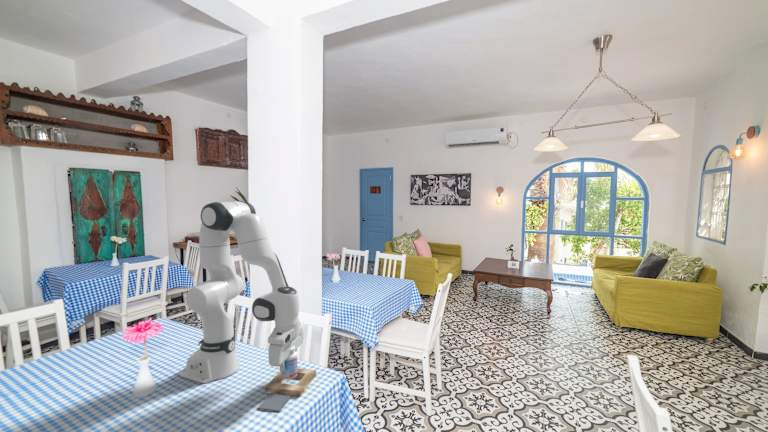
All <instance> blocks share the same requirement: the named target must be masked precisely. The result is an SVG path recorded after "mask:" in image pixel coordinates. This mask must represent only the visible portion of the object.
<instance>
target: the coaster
mask: <svg viewBox="0 0 768 432" xmlns="http://www.w3.org/2000/svg"><path fill="white" fill-rule="evenodd" d="M291 398H292V395H283V394H275V393H269V395H268V396H267V397H266V398H265V399H264V400H263V401H262V403H260V404H259V406H258V407H257V410H258V409H263V410H262V411H266V410H271V411H270V412H273V411H276V412H275V413H281V411H282V410H283V408H284V407H285V406H286V405H287V403H288V402H289V401H290V400H291ZM281 409H282V410H281Z"/></svg>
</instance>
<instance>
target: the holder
mask: <svg viewBox="0 0 768 432" xmlns="http://www.w3.org/2000/svg"><path fill="white" fill-rule="evenodd" d="M316 376H317V370H316V369H308V368H298V367H297V376H296V377H295V378H297V379H298V378H299V379H300V380H299V382H298V383H297V384H296V385H295V384H288V383H283V382H284V381H285V380H286V379H283V378H282V377H281V371H280V370H279V372H278V373H277V374H276V375H275V376H274V377H273V378H272V379H271V380H270V381H269V382H268V383H267V384H266V385H265V386H264V393H267V392H271V393H273V394H275V393H277V394H281V395H289V396H291V397H292V396H294V397H301V396H302V394H304V393H305V391H306V389H307V388H308V387H309V385H310V384H311V383H312V382H313V380H314V379H315V377H316ZM271 393H270V394H271Z"/></svg>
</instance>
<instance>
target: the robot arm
mask: <svg viewBox="0 0 768 432" xmlns="http://www.w3.org/2000/svg"><path fill="white" fill-rule="evenodd" d="M200 221H201V224H200V228H199V229H200V230H199V239H198V241H199V242H198V243H199V245H198V247H199V264H200V267H202V269H204V270H207V271H208V274H209V275H210V279H209V280H205V281H203V282H200V283H198V284H197V285H195V286H193V287H191V288H190V289H189V290H188V291H187V292H186V295H185V303H186V306H187V308H188V309H189V310H190V311H192V312H194V313H196V314H197V315H198V316H199V318H200V320H201V325H202V333H203V334H202V335H203V336H202V337H203V338H202V339H201V340H200V341H198V342H197V343H198V344H197V345H198V346H200V348H198V349H197V350H196V351H194V352H193V353H192V354H191V355H190V356H189V357H188V358H187V361H186V366H185V367H184V368H183V369H182V370H181V371H180V372H179V377H180V378H184V379H186V380H190V381H194V382H197V383H200V384H208V383H210V382H212V381H217V380H220V379H224V378H227V377H229V376H231V375H233V374H235V373H236V372H237V371H238V370H239V369H240V363H239V360H238V357H237V354H236V353H237V352H236V348H235V347H236V335H235V333H234V332H235V331H234V318H233V315H232V314H231V313H229V312H226V310H225V306H224V304H225V303H227V302H229V301H232V300H234V299H236V298H237V296H239V295H240V294H241V293H242V292H243V291H244V288H245V284H244V281H243V278H242V277H241V276H240V275H238V274H237V273H236V271H235V269H234V267H233V264H232V257H231V256H232V255H231V242H230V241H231V239H230V233H231V231H232V232H233V233H234V234H235V238H236V242H237V247H238V251H239V255H240V256H241V259H242V260H243V261H244V262H246V263H248V264H250V265H253V266H256V267H257V266H258V267H261V268H262V269H263V270H264V271H266V274H267V276H268V280H269V282H270V285H271V292H268V293H266V294H263V295H260V296H258V297H257V298H255V299H254V301H252V305H251V312H252V315H253V317H254V318H255V319H256V320H258V321H259V322H272V321H274V328H273V330H272V332H271V333H270V335H269V336H268V338H267V344H269V345H268V350H267V351H268V352H267V353H268V364H269V365H270V366H271V367H279V372H280V371H282V372H284V371H285V370H286V365H284V363H285V360H286V359H287V358H288V357H289V356H290V349H291V348H292V347H293V346H295V352H296V353H297V352H298V348H299V347H301V345H302V344H303V343H304V338H305V336H304V328H303V326H302V323H301V322H300V317H299V313H300V299H299V294H298V290H297V289H295V288H294V287H292V286H289V284H288V281H287V279H286V276H285V274H284V270H283V268H282V265H281V261H280V260H279V257H278V256H277V254H276V253H275V252H274V250H273V249H272V246H271V245H270V244H271V243H270V241H269V238H268V235H267V231H266V228H265V225H264V221H262V218H261V216H260V215H258V214H257V213H256V209H255V207H254V205H252V204H251V203H249V202H246V201H244V200H243V201H242V200H240V201H238V200H237V201H236V200H226V201H218V202H217V201H213V202H210V203H207V204H206V205H204V206H203V207H202V208H201V211H200Z"/></svg>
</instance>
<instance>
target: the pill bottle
mask: <svg viewBox="0 0 768 432" xmlns="http://www.w3.org/2000/svg"><path fill="white" fill-rule="evenodd" d="M284 365H286V370H285V371H284V372H282V371H281V377H282V378H283V379H285V380H286V381H287V380H293V379H295V378H297V377H296V376H297V368H298V353H297V352H295V346H293V347H292V348H291V349H290V356H289V357H288V358H287V359H286V360H285V363H284Z"/></svg>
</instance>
